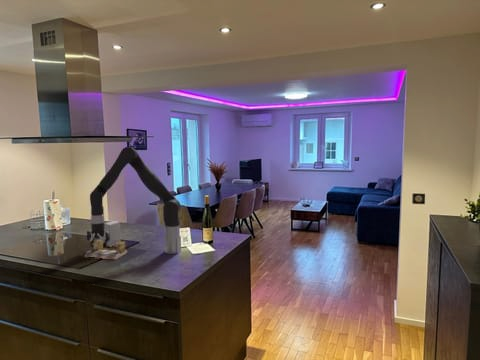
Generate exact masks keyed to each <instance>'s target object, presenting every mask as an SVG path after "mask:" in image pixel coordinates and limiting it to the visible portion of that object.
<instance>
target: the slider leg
mask: <svg viewBox="0 0 480 360" xmlns="http://www.w3.org/2000/svg"><path fill="white" fill-rule="evenodd" d="M91 248H93V250H94V251H101V250H103V241H102V240H101V239H97V240H94V243H93V244H92V247H91Z"/></svg>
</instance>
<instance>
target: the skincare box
mask: <svg viewBox="0 0 480 360" xmlns="http://www.w3.org/2000/svg"><path fill="white" fill-rule="evenodd" d="M104 223H105V229H104V231H105V232H108V231H109V234H110V240H109V241H108V242H107V247H108V246H109V248H113V247H115V245H116V244H117V243H119V242H122V241H121V222H120V221H117V220H112V221H108V222H104ZM104 235H105V234H104ZM105 237H106V236H105ZM112 246H113V247H112Z"/></svg>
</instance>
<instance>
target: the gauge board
mask: <svg viewBox="0 0 480 360" xmlns="http://www.w3.org/2000/svg"><path fill="white" fill-rule="evenodd" d="M127 253H128V249H126V241H121V242H119V243H117V244H116V246H114V248H110V247H109V248H107V247H106V248H103V250H101V251H94V249H93V250H89V251H88V250H87V251H86V252H85V254H84V258H88V257H95V258H94V259H100V258H102V260H103V259H104V260H117V259H119V258H121V257H122V256H124V255H126V254H127Z"/></svg>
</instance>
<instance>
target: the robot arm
mask: <svg viewBox="0 0 480 360" xmlns="http://www.w3.org/2000/svg"><path fill="white" fill-rule="evenodd" d="M128 164H129V165H130V166H131V167H132V168H133V170H134V171H135V172H136V173H137V176H138V178H139V179H140V181H141V182H142V183H143V185H144V186H145V187H146V188H147V189H148V191H150V192H151V193H152V194H154V195H155V196H157V197H158V198H159V199H160V200H161V201H162V203H163V209H162V211H163V213H162V215H163V222H164V253H165V254H168V255H175V254H179V253H180V252H181V250H182V236H181V233H180V231H181V230H180V227H181V226H180V219H179V212H180V210H181V208H182V206H181V202H180V201H179V200H178V199H177V198H176V197H175V196H174V195H173V194H172V193H171V192H170V191H169V190H168V189H167V187H166V185H164V183H163V182H162V181H161V179H160V178H159V177H158V176H157V174H155V172H154V171H153V170H152V168H150V167H149V166H148V165H147V164H146V163H145V162H144V161H143V159H142V157H141V155H140V154H139V153H138V152H137V150H136V149H135V148H134V147H131V146H125V147H124V148H122V149H121V151H120V152H119V155H117V158H116V159H115V161H114V162H113V164H112V166H111V167H110V169H109V170H108V171H107V172H106V174H105V175H104V176H103V177H102V179H101V180H100V182H99V183H98V184H97V185H96V187H95V188H93V190H92V191H91V193H90V194H89V201H90V202H89V203H90V214H91V215H90V230H87V231H86V241H89V242H90V243H89V244H90V246H89V247H90V248H93V247H92V244H93V243H94V242H95V239H99V240H102V241H103V248H107V247H108V246H107V242H108V241H109V240H110V234H109V231H108V232H105V231H104V229H105V223H106V222H105V214H104V213H105V211H104V205H103V198H104V196H105V195H106V194H107V192H108V191H109V190H110V189H111V188H112V187H113V186H114V184H115V183H116V182H117V180H118V179H119V176H120V174H121V172H123V170H124V168H125V167H126V166H127V165H128ZM104 234H105V235H104ZM105 236H106V237H105Z"/></svg>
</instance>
